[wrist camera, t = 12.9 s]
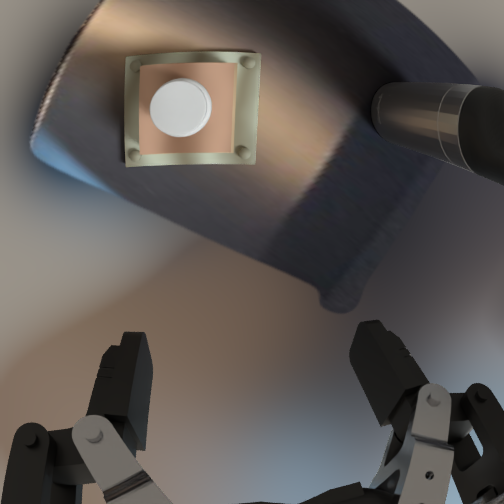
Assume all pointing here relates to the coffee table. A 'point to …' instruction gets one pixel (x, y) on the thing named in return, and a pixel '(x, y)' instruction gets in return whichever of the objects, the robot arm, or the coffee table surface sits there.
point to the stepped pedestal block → (221, 119)
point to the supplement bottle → (181, 107)
